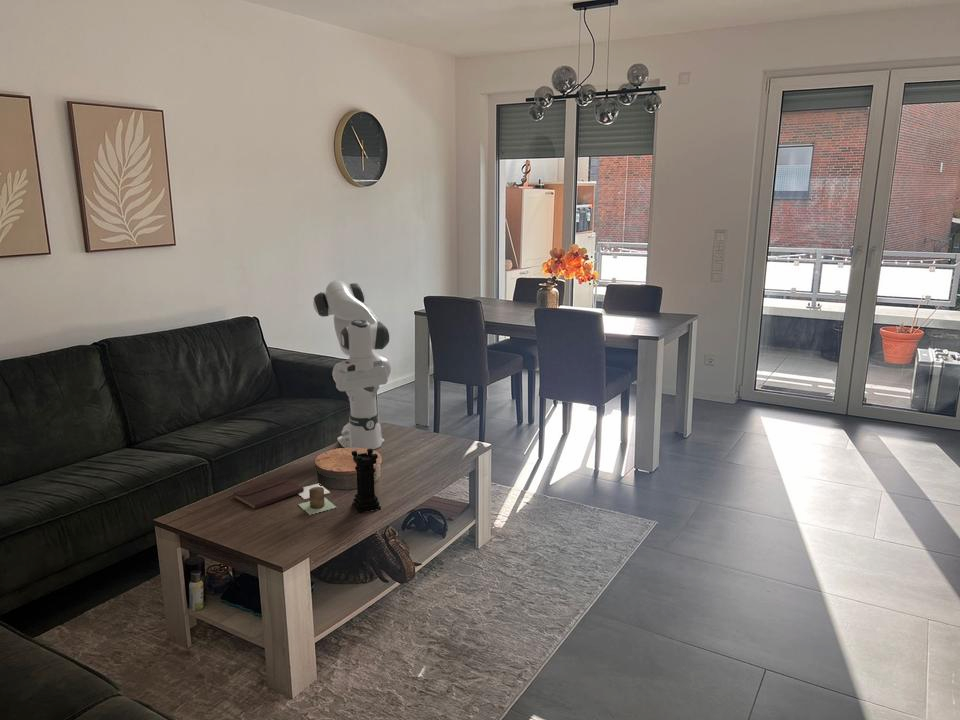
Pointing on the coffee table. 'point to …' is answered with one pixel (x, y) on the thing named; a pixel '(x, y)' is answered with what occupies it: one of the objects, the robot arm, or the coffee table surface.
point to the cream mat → (306, 489)
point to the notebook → (268, 492)
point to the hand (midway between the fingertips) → (362, 398)
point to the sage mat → (310, 510)
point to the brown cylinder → (316, 497)
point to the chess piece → (365, 482)
